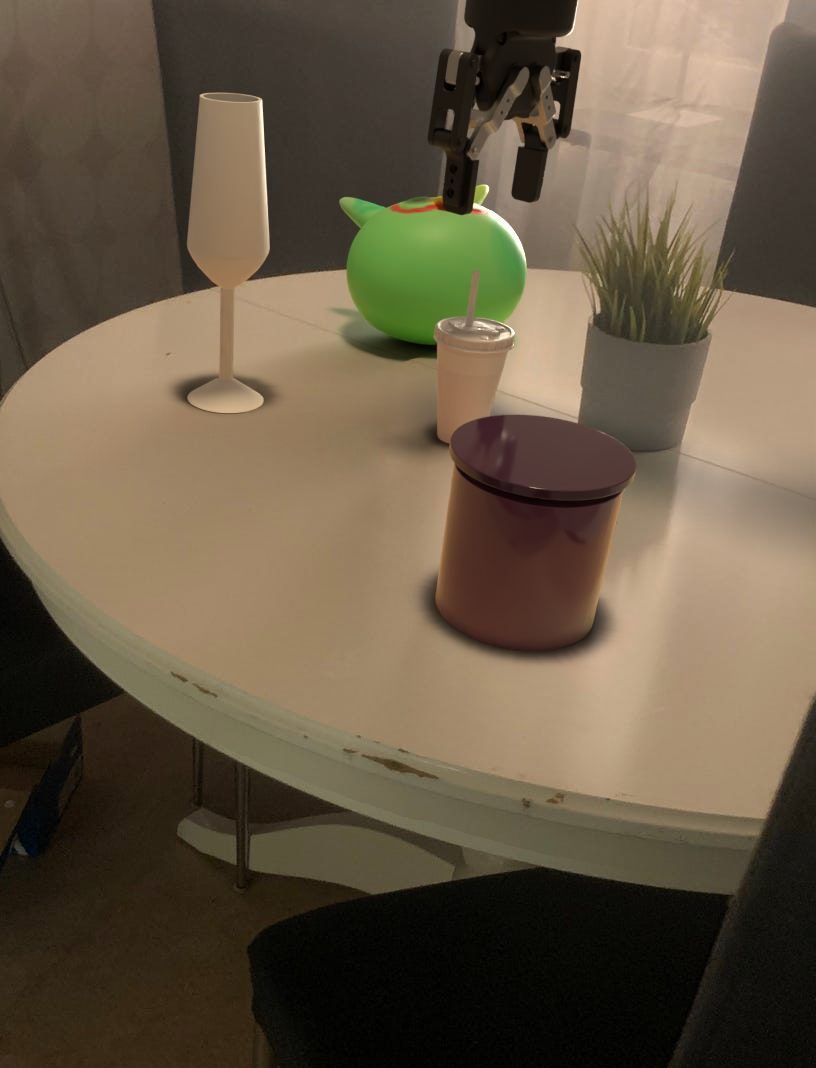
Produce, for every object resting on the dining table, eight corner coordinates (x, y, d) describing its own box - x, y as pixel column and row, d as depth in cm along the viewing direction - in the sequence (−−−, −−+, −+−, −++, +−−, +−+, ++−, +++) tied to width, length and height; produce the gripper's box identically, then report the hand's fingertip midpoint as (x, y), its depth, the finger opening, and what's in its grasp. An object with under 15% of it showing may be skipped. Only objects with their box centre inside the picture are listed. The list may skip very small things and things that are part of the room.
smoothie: (441, 421, 97) (462, 257, 89) (509, 440, 94) (537, 272, 87) (407, 445, 92) (427, 273, 84) (478, 465, 90) (505, 290, 82)
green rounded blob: (363, 368, 107) (377, 207, 99) (323, 313, 120) (333, 168, 112) (537, 365, 111) (565, 211, 103) (480, 312, 125) (500, 172, 116)
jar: (494, 554, 77) (520, 401, 71) (630, 618, 71) (671, 456, 65) (393, 608, 70) (412, 443, 64) (534, 683, 64) (570, 509, 58)
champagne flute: (240, 380, 102) (247, 90, 89) (278, 406, 97) (291, 104, 84) (173, 391, 98) (171, 91, 85) (209, 418, 94) (212, 105, 81)
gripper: (513, -48, 67) (474, 229, 76) (633, -41, 77) (586, 206, 85) (417, -59, 71) (391, 206, 80) (542, -51, 81) (506, 187, 89)
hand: (492, 206), depth 83 cm, fingers open, 8 cm apart
